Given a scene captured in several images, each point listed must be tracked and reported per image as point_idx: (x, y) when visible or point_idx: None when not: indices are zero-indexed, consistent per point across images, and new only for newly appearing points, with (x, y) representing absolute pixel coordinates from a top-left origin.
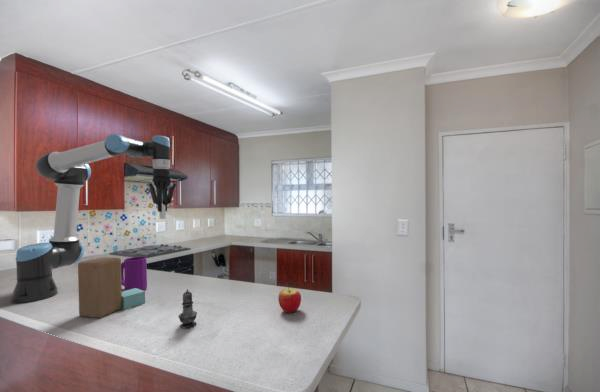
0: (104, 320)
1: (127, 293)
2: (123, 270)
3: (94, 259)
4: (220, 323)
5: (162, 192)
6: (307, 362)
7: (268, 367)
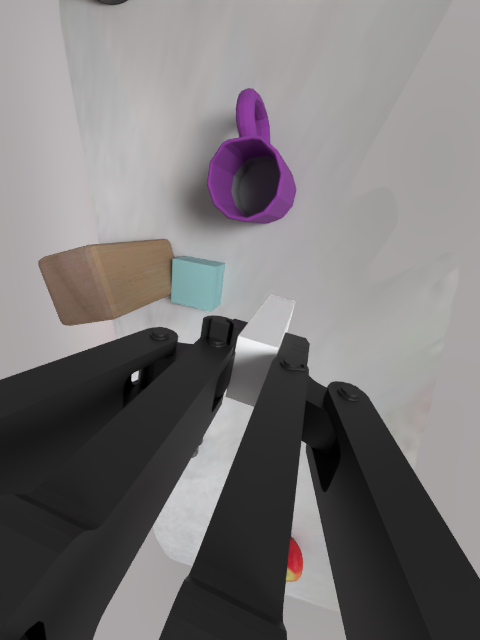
0: (145, 309)
1: (185, 287)
2: (257, 102)
3: (65, 268)
4: (215, 471)
5: (211, 518)
6: (192, 559)
7: (172, 535)
